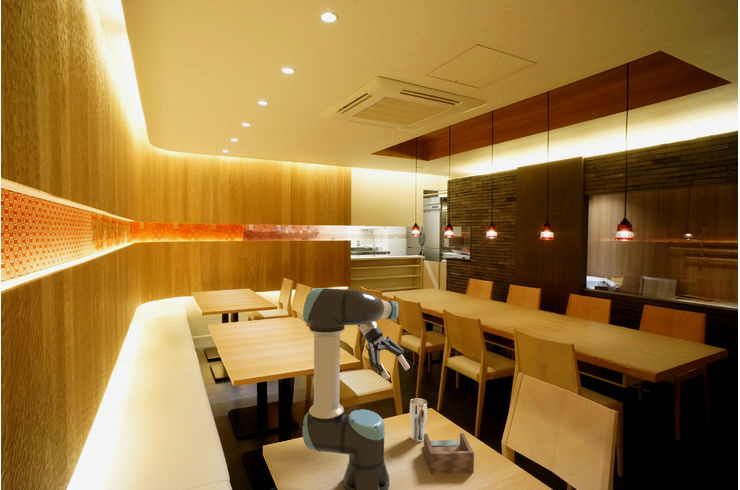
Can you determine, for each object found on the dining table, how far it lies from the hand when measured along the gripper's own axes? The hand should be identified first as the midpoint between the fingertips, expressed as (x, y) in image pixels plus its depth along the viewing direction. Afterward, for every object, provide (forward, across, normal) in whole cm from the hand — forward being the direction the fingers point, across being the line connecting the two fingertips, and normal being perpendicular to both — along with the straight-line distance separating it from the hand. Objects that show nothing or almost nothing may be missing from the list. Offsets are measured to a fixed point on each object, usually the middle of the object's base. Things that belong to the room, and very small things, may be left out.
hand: (398, 373), depth 166 cm
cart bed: (+35, +5, +2) cm, 36 cm away
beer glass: (+24, +1, -9) cm, 26 cm away
